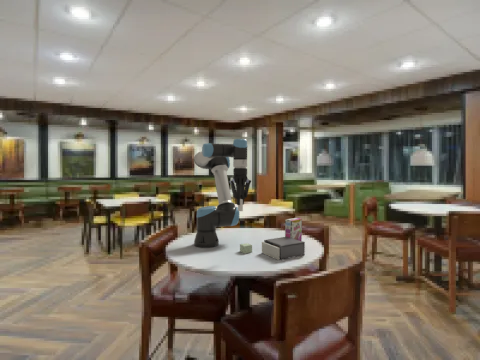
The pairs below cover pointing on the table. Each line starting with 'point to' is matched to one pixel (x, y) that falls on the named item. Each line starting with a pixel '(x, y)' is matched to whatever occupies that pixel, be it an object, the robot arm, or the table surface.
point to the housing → (288, 247)
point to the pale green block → (246, 248)
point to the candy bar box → (293, 228)
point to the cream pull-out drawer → (271, 250)
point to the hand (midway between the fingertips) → (240, 210)
